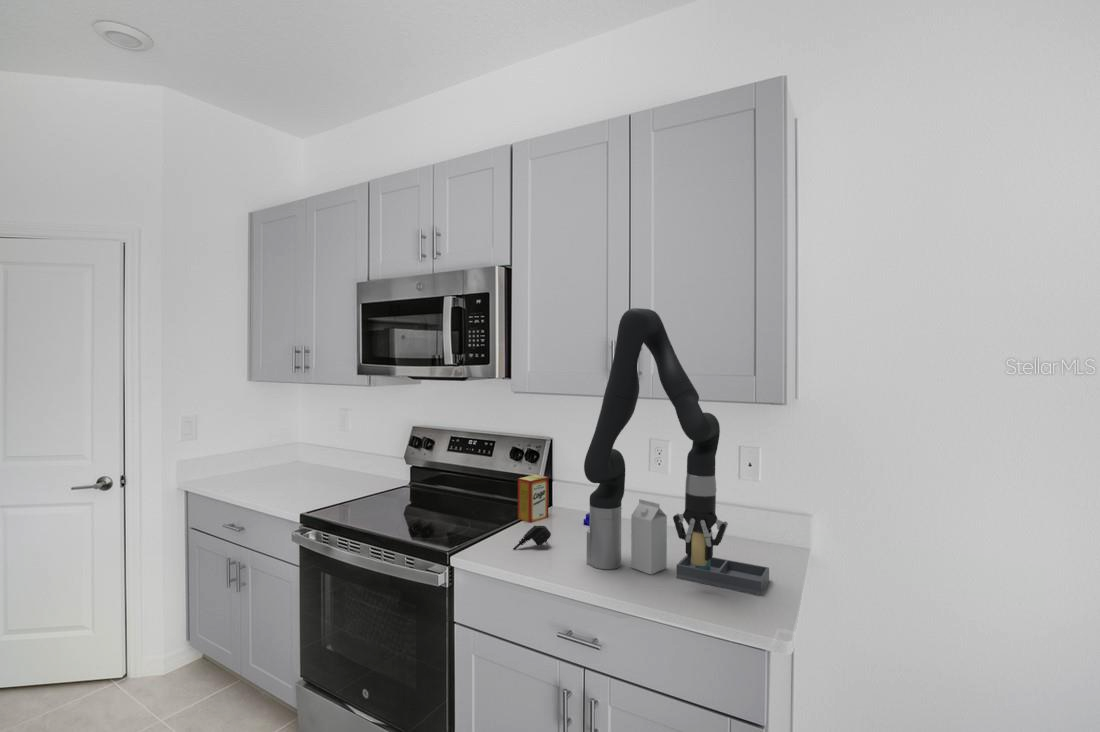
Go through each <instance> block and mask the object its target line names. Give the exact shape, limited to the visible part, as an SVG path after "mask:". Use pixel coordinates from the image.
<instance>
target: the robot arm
mask: <svg viewBox="0 0 1100 732" xmlns="http://www.w3.org/2000/svg"><path fill="white" fill-rule="evenodd" d="M615 341H616V342H615V350H614V353H613V354H614V356H613V359H612V364H611V368H610V370H609V377H608V380H607V384H606V386H605V387H606V388H605V391H604V395H603V399H602V403H601V404H602V405H601V407H600V412H599V415H598V419H597V423H596V426H595V430H594V433H593V435H592V439H591V442H590V444H589V447H588V450H587V452H586V455H585V458H584V463H583V471H584V475H585V478H586V479H587V480H588V481H589V482H590V483H592V484H598V486H597V488H596V489H595V490H594V491H593V492H591V494H590V496H589V513H590V526H589V529H588V530H586V565H589V566H590V567H593V568H595V569H599V570H615V569H618V568H620V567H621V566H622V501H623V498H624V495H625V489H626V488H625V483H626V461H625V458H624V456H623V454H622V453H621V452H620V451H619V450H618V449H616V448H614V445H615V443H616V440H617V439H618V437H619V435H620V434H621V432H622V431H623V430H624V429H625V427H626V426H627V424H629V423H628V422H630V420H631V418H632V417H633V415H634V413H635V410H636V406H637V404H638V403H637V402H638V398H639V395H640V379H639V372H638V364H639V363H638V362H639V357H640V353H641V350H642V347H643V344H644V345H645V347H646V348H647V349H648V350H649V352H650V354H651V355H652V357H653V359H654V362H655V365H656V369H657V373H658V378H659V381H660V384H661V386H662V388H663V390H664V392H665V394H666V396H667V398H668V399H669V401H670V402H671V404H672V405H673V407H674V410H675V414H676V416H677V419H678V421H679V425H680V427H681V429H682V431H683V433H684V435H686V437H687V438H688V439H689V440H690V441H692V445H691V446H692V447H691V448H690V450H689V451H688V453H687V458H686V459H687V460H686V476H685V491H684V492H685V493H684V494H685V495H684V499H685V500H684V511H683V513H681V514H679V513H676V514H675V515H673V516H672V517H673V518H672V520H673V524H674V525H675V529H676V533H677V536H678V538H679V539H680V540H683V541H685V555H687V554H688V557H691V536H692V532H693V531H700V532H703V534H704V537H705V540H706V544H707V546H706V555H705V560H706V561H709V560H710V559H711V558H712V557H714V556H713V555H714V546H719V545H720V544H721V543H722V541H723V538H724V535H725V532H726V530H727V528H728V525H729V524H728V521H722V520H720V519H718V516H717V514H716V507H717V506H716V505H717V504H716V502H717V495H716V494H717V479H716V457H717V456H716V455H717V451H718V447H719V440H720V435H721V434H720V433H721V430H720V429H721V428H720V423H719V420H718V418H717V417H716V416H715V415H714V414H712V413H710V412H703V410H702V408H701V406H700V404H699V401H700V396H699V393H698V391H697V390H696V388H695V386H694V384H693V383H692V381H691V380H690V378H689V376H688V374H687V373H686V371H685V370H684V368H683V366H682V364H681V363H680V360H679V358H678V357H677V354H676V352H675V349H674V348H673V345H672V343H671V340H670V338H669V336H668V333H667V330H666V329H665V326H664V323H663V321H662V319H661V317H660V315H659V314H658V313H657V312H656V311H654V310H653V309H649V308H637V307H634V308H633V307H632V308H630V309H628V310H626V311H625V312H624V313H623V314H622V316H621V318H620V320H619V324H618V327H617V336H616V340H615ZM683 522H686V524H687V526H688V527H687V531H686V530H685V527H684V523H683ZM715 525H716V529H717V530H718V531H717V533H716V536H715V538H714V537H713V530H712V528H713V527H714V526H715Z"/></svg>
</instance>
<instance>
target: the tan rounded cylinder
mask: <svg viewBox="0 0 1100 732" xmlns="http://www.w3.org/2000/svg"><path fill="white" fill-rule="evenodd" d="M706 546H707V544H706V540H705V537H704V534H703V532H700V531H693V532H692V536H691V563H692V564H694V565H698V566H704V565H707V561H706V560H705V555H706Z"/></svg>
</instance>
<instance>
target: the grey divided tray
mask: <svg viewBox="0 0 1100 732" xmlns="http://www.w3.org/2000/svg"><path fill="white" fill-rule="evenodd" d="M675 574H676V575H675V576H676V577H675V578H677V579H680V580H686V581H691V582H695V583H699V584H704V585H709V586H714V587H717V588H718V587H719V588H722V589H727V590H733V591H737V592H742V593H747V594H752V595H755V596H756V595H757V596H759V597H760V596H762V595H763V594H764V591H765V589H766V588H767V585H768V584H769V582H770V567H767V566H762V565H757V564H752V563H745V562H740V561H737V560H736V561H735V560H730V559H726V558H725V559H723V558H720V557H714V556H712V558H711V559H710V571H709V570H704V569H699V568H695V565H694V564H692V563H691V557H688V554H685V556H684V557H683V558H682V559H681V560H680V561H679V562H678V563H677V564H676V573H675Z"/></svg>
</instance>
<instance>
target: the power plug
mask: <svg viewBox="0 0 1100 732" xmlns="http://www.w3.org/2000/svg"><path fill="white" fill-rule="evenodd" d="M551 536H552V533H551V531H550V530H549V529H548V528H547V527H546V526H545V525H534V526H532V527H531V528H530V529H529V530H528V531H527V532H526V533H525V534H524V535H523V536H522V537H521V539H520V540H519V541H518V544H516V545H515V546H514V547H513V548H512V549H513V551H515V550H517V548H519V547H520V546H523V545H524V544H526V543H527V542H528V541H530V540H532V541H533V542H534V543H535V544H536V546H542V545H543V544H546V545H547V547H549V548H550V547H551V544H550V542H549V541H548V540H549V539H550V538H551Z"/></svg>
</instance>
